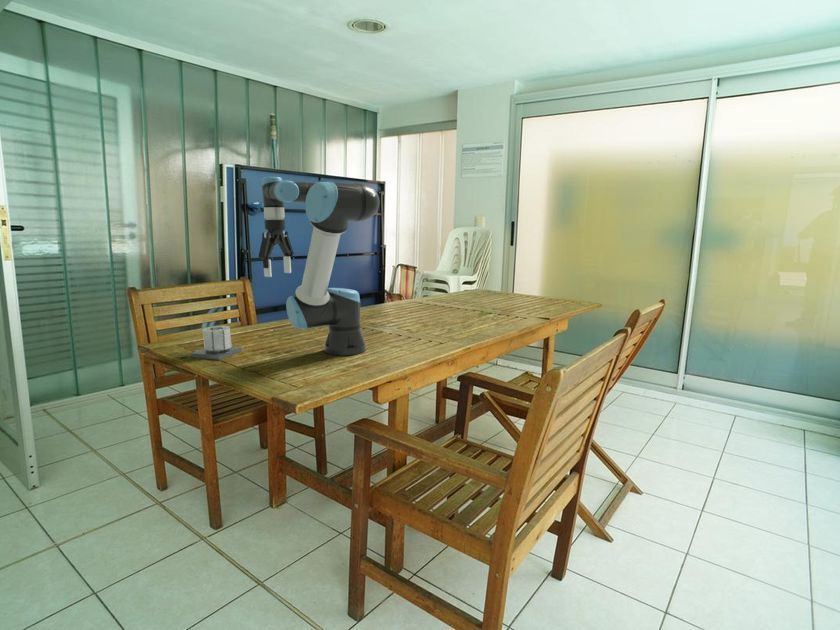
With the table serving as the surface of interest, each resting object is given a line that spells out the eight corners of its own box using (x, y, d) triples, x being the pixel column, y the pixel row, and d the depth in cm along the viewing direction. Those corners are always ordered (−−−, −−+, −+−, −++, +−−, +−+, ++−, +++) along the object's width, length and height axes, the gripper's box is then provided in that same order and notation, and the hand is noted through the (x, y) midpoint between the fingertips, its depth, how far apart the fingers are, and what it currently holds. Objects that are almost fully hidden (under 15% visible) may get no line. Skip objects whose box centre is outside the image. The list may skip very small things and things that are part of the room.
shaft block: (241, 351, 183) (240, 330, 181) (219, 360, 172) (217, 337, 170) (215, 348, 186) (213, 328, 185) (191, 357, 175) (189, 335, 174)
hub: (236, 345, 182) (235, 326, 181) (219, 351, 174) (218, 332, 172) (216, 343, 185) (214, 325, 183) (199, 349, 176) (197, 330, 175)
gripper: (284, 219, 201) (287, 271, 205) (245, 219, 177) (250, 278, 181) (300, 218, 198) (303, 271, 203) (263, 219, 175) (267, 278, 179)
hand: (278, 274), depth 192 cm, fingers open, 13 cm apart
